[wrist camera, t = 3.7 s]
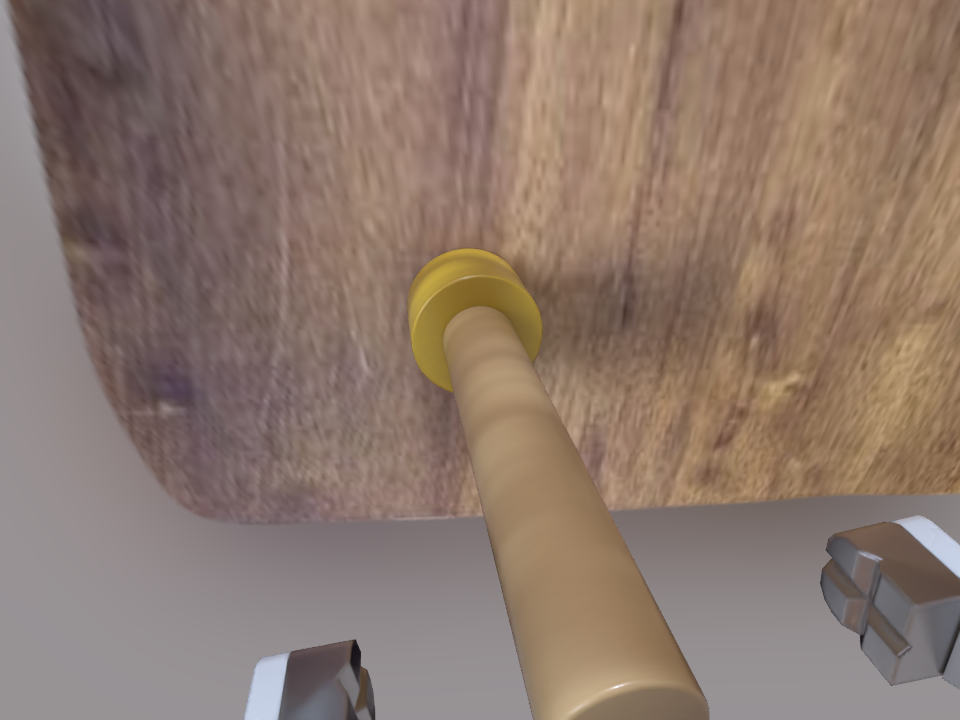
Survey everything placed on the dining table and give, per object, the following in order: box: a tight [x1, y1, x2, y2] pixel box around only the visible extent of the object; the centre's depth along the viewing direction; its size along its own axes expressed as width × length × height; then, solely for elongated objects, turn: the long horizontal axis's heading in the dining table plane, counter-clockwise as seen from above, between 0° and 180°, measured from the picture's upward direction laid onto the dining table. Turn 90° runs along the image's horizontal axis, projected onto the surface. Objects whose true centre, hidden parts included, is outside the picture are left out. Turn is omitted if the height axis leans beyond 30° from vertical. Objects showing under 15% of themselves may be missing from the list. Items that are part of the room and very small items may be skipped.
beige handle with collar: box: [407, 248, 709, 720], centre depth 15 cm, size 4×4×16 cm
